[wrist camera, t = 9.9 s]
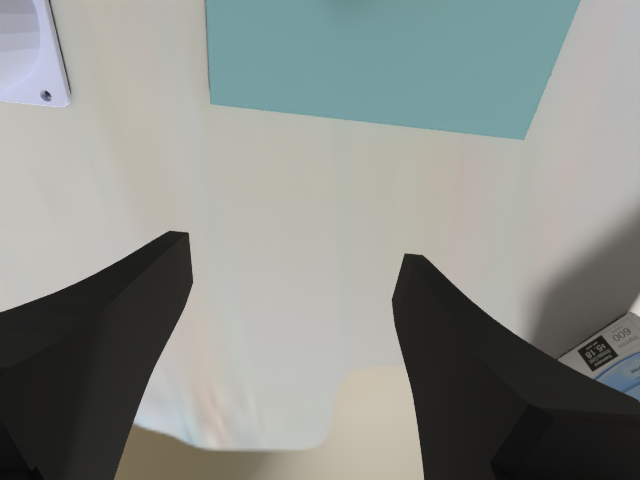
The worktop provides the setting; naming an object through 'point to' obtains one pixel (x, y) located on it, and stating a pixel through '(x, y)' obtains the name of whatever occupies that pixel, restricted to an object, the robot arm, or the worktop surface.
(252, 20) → the mat
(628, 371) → the light bulb box
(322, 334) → the worktop surface
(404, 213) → the worktop surface
